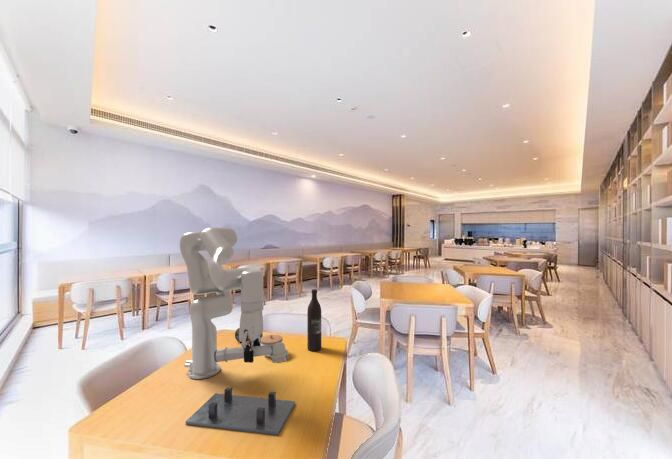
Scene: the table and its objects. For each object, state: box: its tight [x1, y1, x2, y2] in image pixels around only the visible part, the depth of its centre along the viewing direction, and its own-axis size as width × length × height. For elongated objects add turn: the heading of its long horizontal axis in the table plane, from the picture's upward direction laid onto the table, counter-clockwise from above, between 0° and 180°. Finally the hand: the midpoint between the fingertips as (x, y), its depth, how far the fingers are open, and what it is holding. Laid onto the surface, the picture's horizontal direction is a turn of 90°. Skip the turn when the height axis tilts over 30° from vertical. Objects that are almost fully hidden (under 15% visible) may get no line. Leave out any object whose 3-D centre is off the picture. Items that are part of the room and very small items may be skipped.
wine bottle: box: [306, 288, 322, 352], centre depth 150 cm, size 7×7×30 cm
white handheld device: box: [214, 341, 290, 364], centre depth 102 cm, size 5×7×25 cm
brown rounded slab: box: [234, 327, 264, 343], centre depth 159 cm, size 15×3×8 cm, turn 81°
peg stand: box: [185, 387, 296, 437], centre depth 96 cm, size 30×16×5 cm, turn 80°
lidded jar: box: [259, 334, 283, 358], centre depth 143 cm, size 11×11×9 cm
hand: (252, 357), depth 102 cm, fingers closed on white handheld device, 5 cm apart
